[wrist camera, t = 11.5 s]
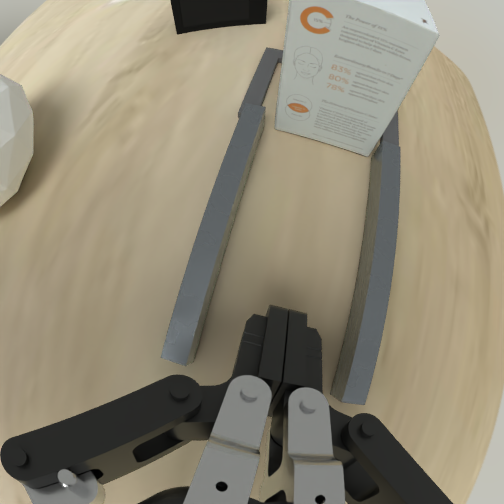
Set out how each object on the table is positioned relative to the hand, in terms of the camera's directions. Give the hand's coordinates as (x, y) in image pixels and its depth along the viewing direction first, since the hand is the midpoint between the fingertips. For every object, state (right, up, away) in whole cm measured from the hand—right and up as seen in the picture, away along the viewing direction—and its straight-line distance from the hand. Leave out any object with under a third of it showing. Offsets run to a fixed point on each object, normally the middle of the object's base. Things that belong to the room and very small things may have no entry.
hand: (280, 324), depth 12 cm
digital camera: (-5, +31, +16) cm, 35 cm away
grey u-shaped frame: (+2, +3, +8) cm, 9 cm away
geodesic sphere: (-25, +10, +10) cm, 29 cm away
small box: (+5, +14, +11) cm, 19 cm away
